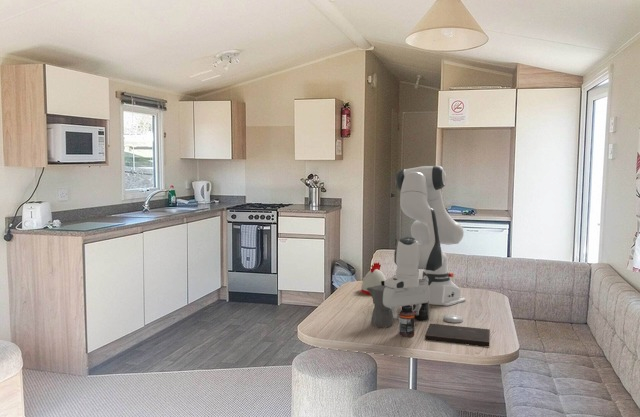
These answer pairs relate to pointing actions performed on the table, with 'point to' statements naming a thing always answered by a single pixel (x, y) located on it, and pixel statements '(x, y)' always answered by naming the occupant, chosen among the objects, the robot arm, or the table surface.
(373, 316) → the coffeepot
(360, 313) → the table surface
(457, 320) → the white glossy disc
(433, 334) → the hardcover book
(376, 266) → the kitchen timer
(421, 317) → the supplement bottle
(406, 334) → the supplement bottle
